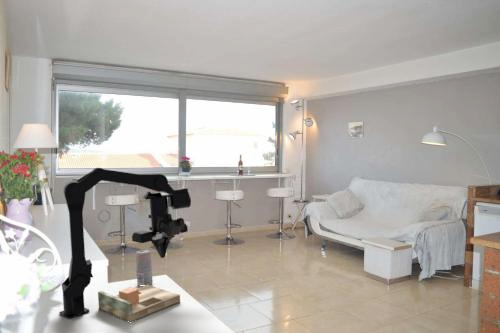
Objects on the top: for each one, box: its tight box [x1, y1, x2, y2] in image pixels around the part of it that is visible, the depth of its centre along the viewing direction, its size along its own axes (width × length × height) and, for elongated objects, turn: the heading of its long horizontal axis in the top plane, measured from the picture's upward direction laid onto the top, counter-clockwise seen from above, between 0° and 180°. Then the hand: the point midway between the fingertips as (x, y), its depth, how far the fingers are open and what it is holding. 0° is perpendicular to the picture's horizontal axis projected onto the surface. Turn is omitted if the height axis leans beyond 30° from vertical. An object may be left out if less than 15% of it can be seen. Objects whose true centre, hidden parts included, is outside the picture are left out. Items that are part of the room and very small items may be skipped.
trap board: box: [97, 284, 181, 323], centre depth 123 cm, size 17×18×5 cm
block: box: [118, 286, 139, 305], centre depth 119 cm, size 4×4×4 cm
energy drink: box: [135, 249, 153, 286], centre depth 143 cm, size 5×5×12 cm
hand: (162, 257), depth 132 cm, fingers closed
